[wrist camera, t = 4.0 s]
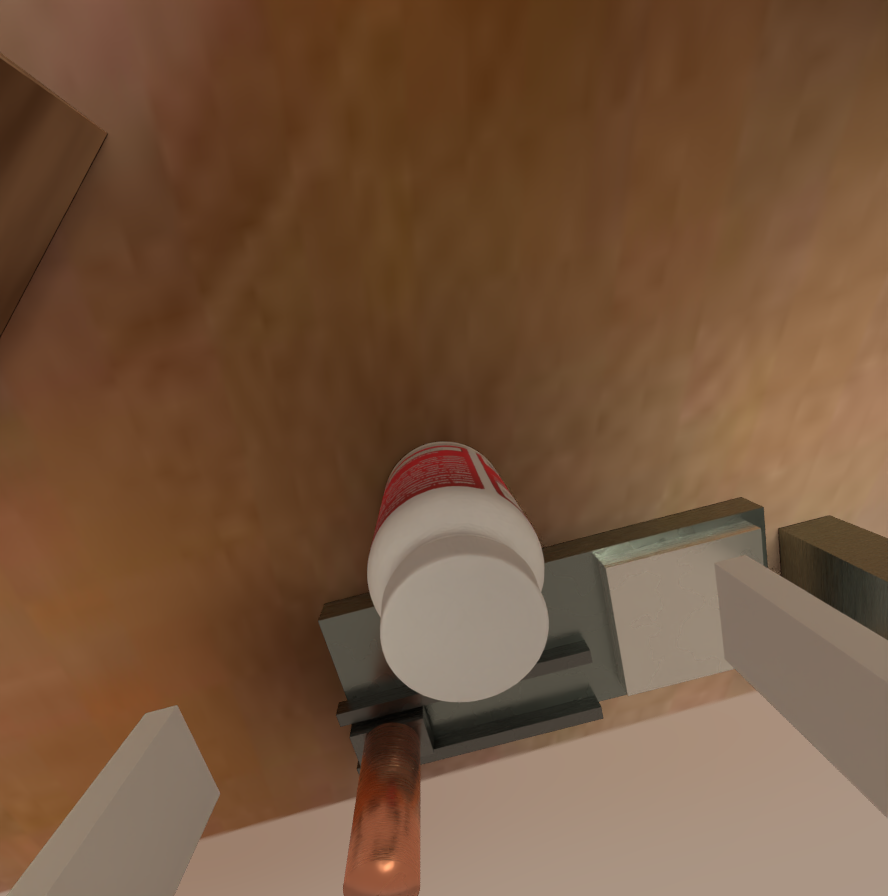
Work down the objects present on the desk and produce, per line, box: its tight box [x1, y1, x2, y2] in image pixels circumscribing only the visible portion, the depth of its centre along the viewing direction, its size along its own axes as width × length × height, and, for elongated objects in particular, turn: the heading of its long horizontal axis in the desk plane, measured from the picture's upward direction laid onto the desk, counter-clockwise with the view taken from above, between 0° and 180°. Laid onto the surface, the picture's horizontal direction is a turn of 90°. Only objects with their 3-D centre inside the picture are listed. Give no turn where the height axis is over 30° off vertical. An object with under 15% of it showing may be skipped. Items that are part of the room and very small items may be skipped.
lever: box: [343, 706, 434, 896], centre depth 19 cm, size 4×3×7 cm
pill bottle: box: [367, 442, 549, 702], centre depth 16 cm, size 6×6×11 cm
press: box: [318, 497, 888, 776], centre depth 16 cm, size 30×10×17 cm, turn 104°
